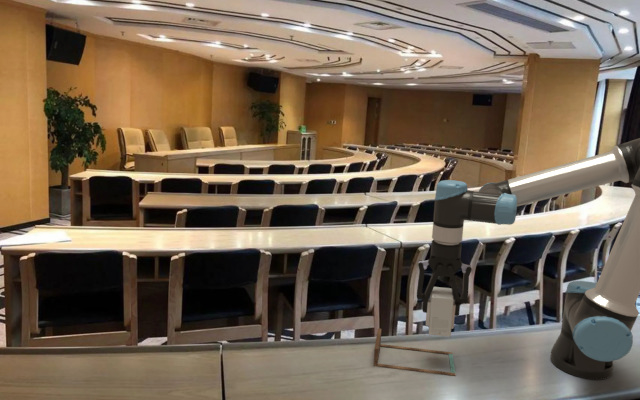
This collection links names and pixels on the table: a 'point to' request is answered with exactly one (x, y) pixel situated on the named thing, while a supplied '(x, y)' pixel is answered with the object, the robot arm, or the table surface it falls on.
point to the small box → (441, 311)
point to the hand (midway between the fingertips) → (439, 324)
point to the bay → (378, 345)
